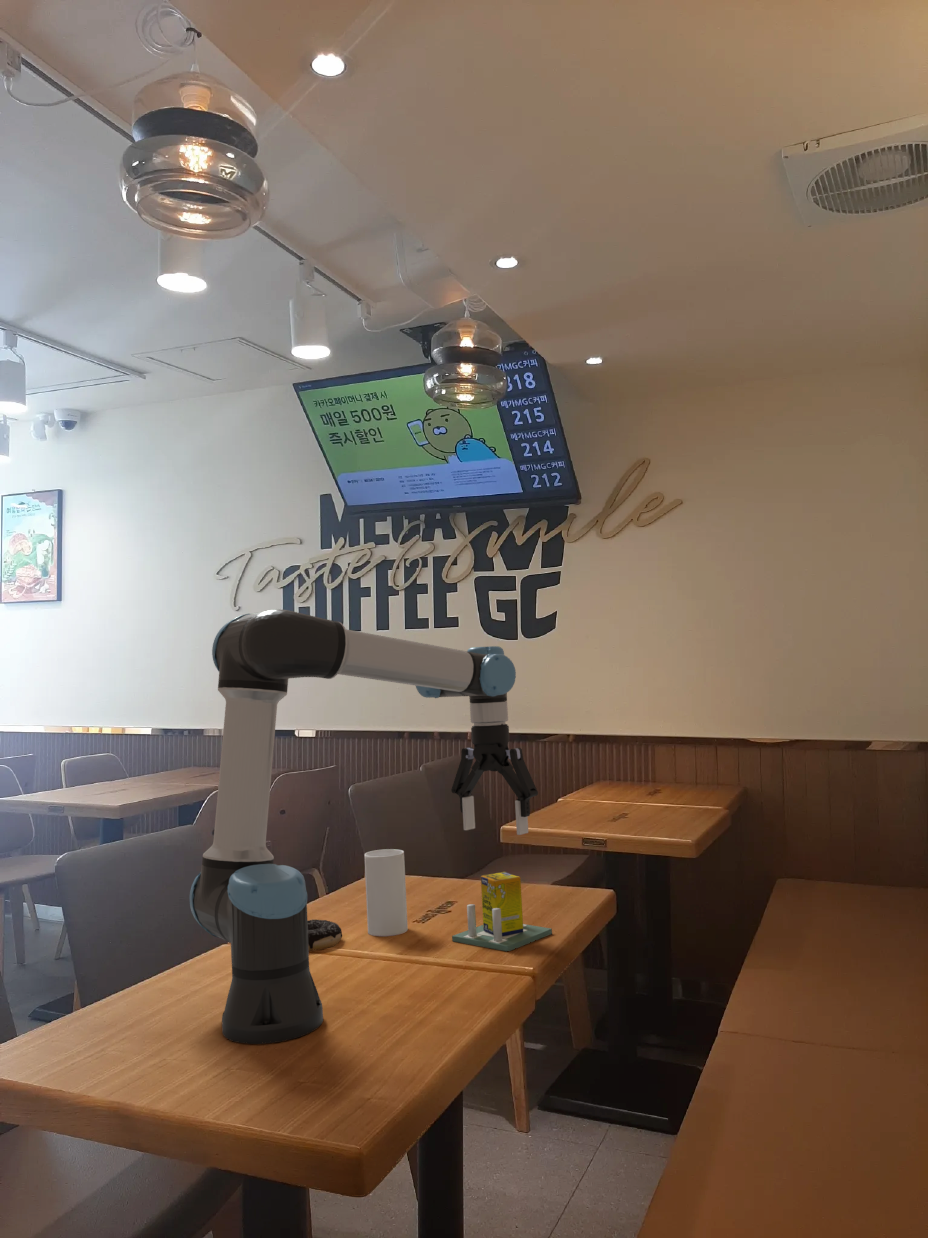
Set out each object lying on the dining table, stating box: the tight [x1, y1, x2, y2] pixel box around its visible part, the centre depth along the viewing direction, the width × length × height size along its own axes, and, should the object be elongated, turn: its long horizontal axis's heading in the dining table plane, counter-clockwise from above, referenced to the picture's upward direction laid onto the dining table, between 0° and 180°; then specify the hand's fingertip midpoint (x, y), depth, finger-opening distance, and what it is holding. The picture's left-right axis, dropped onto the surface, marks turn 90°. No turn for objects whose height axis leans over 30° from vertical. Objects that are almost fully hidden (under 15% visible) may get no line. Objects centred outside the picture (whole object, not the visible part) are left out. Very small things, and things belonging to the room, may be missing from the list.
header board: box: [451, 903, 553, 952], centre depth 189 cm, size 14×14×7 cm
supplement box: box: [480, 871, 524, 937], centre depth 189 cm, size 6×6×11 cm
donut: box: [307, 919, 343, 952], centre depth 192 cm, size 11×12×4 cm
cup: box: [364, 848, 409, 937], centre depth 199 cm, size 8×8×16 cm
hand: (495, 831), depth 190 cm, fingers open, 13 cm apart
